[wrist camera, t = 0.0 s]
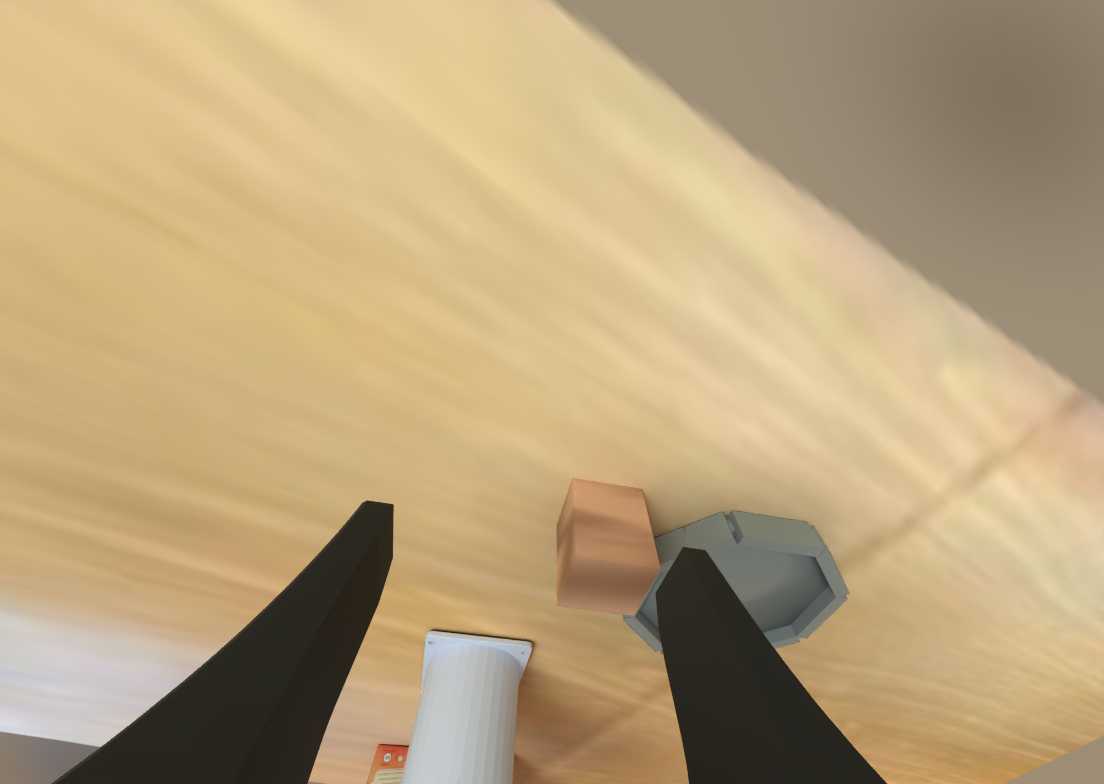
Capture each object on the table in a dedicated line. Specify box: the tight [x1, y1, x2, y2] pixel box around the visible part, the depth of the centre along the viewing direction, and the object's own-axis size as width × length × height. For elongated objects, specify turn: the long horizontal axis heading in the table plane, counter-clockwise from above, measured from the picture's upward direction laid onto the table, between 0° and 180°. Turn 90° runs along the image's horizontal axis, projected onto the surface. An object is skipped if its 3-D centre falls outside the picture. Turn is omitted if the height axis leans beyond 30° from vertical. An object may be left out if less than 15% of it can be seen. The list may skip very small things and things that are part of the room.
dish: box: [622, 511, 849, 654], centre depth 27 cm, size 13×13×2 cm
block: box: [557, 478, 661, 616], centre depth 22 cm, size 4×4×5 cm
